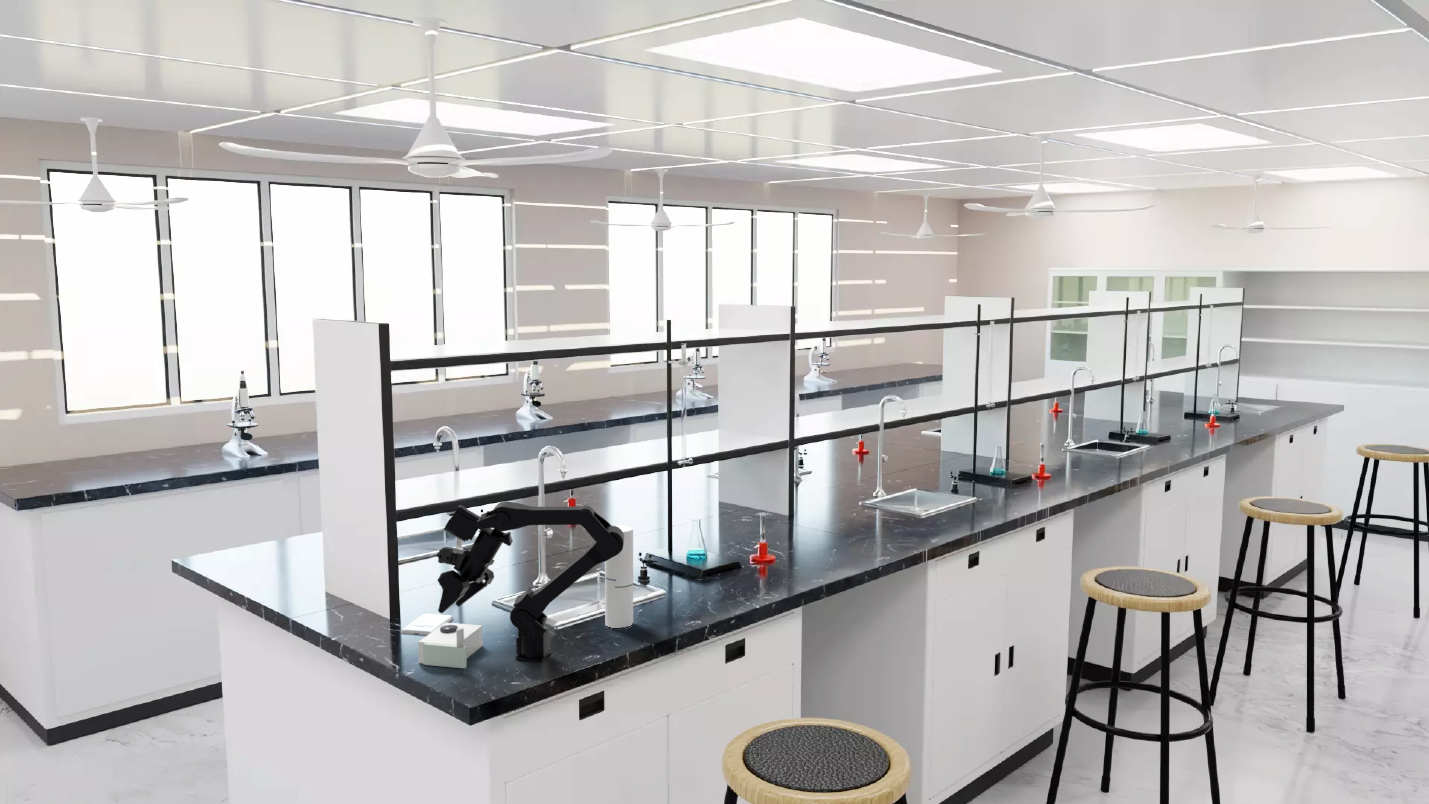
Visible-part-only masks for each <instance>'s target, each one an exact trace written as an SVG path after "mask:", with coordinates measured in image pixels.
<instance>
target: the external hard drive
mask: <svg viewBox="0 0 1429 804" xmlns="http://www.w3.org/2000/svg"><path fill="white" fill-rule="evenodd" d="M453 620H454V616H453V615H452V614H441V613H422V615H420V616H419V617H417V618H416V619H415V620H413V621H412V622H411V623H409V624H408V625H406V626H405V627H404V628H402V629H401V630H400V634H404V635H405V634H407V635H419V636H420V635H422V636H427V635H429V634H430V633H431V632H433V631H434V630H436V629H437V628H438V627H440V626H441V625H443V624H444V623H451V621H453Z"/></svg>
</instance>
